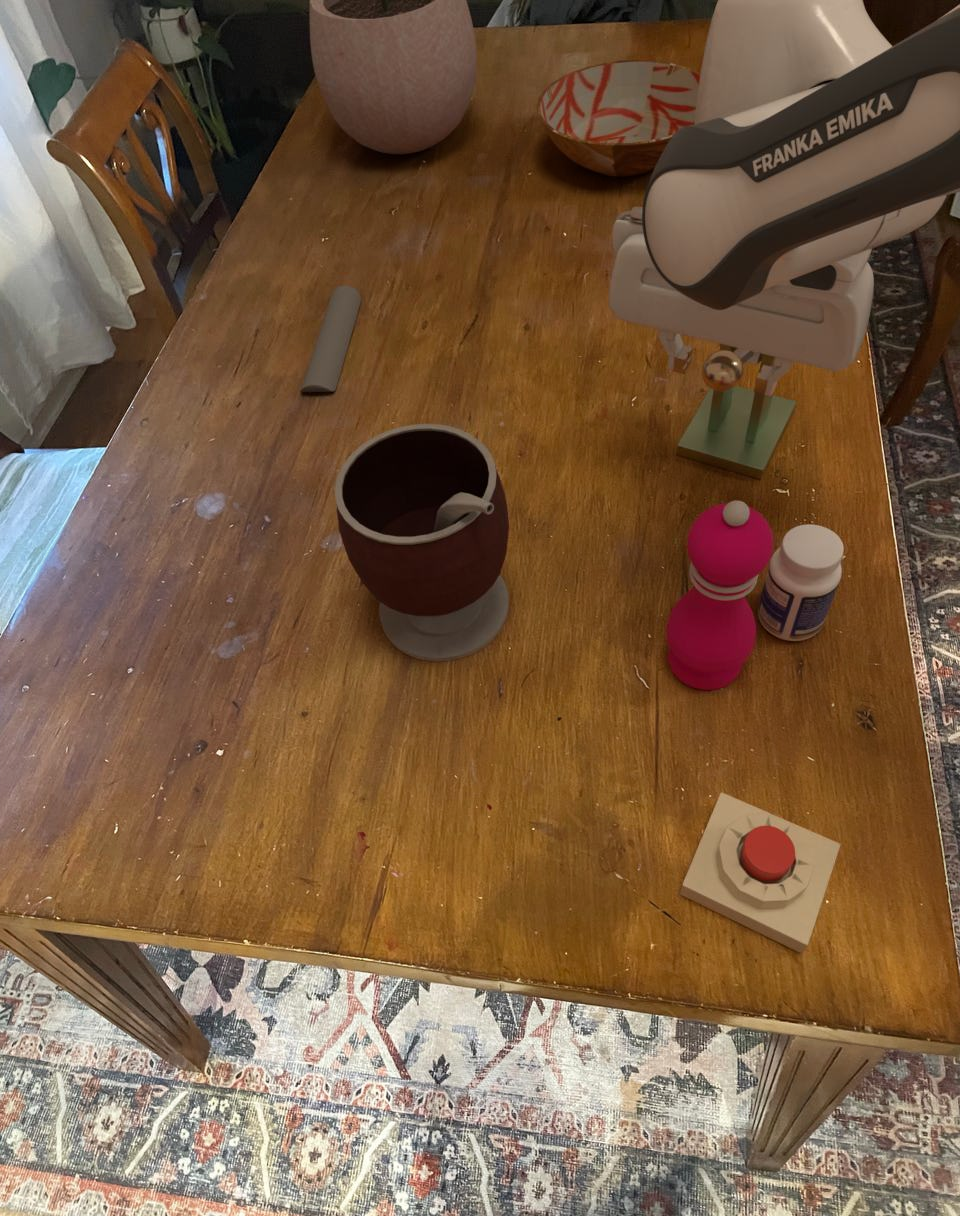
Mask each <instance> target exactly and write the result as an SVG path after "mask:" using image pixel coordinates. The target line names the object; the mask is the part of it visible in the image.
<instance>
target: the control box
mask: <svg viewBox="0 0 960 1216" xmlns="http://www.w3.org/2000/svg"><path fill="white" fill-rule="evenodd" d="M759 826H772V827H776V828H778V829H780V830H782V831H783V832H784V833H786V834H787V835H788V836H789V838H790V839H791V841H792V842H793V845H794V848H795V859H794V862H793V864H792V865H791V867H790V869H789V870H788V872H787V874H786V875H785V876H784V877H782V878H781V879H779V880H776V881H763V880H760V879H757V878H755V877H754V876H752V875H751V874H750V873H749V872H748V871H747V870H746V869H745V867H744V865H743V863H742V860H741V848H742V845H743V843H744V841H745V838H746V836H747V835H748V833H749V832H750V831H751V830H753V829H754V828H756V827H759ZM840 848H841V843H840V842H837V841H835V840H833V839H831V838H828V837H825V836H824V835H821V834H819V833H817V832H814V831H812V830H810V829H807V828H805V827H802V826H801V825H798V824H796V823H794V822H791V821H788V820H786V819H784V818H782V817H780V816H777V815H775V814H772V813H770V812H768V811H766V810H764V809H761V808H759V807H756V806H754V805H752V804H749V803H747V802H745V801H743V800H741V799H738V798H736V797H733V796H732V795H729V794H728V793H727V794H726V793H724V792H720V793H719V795H718V798H717V800H716V802H715V805H714V807H713V810H712V812H711V815H710V817H709V819H708V822H707V823H706V826H705V829H704V831H703V834H702V835H701V838H700V841H699V843H698V846H697V847H696V850H695V852H694V855H693V858H692V860H691V862H690V865H689V867H688V869H687V871H686V874H685V877H684V879H683V882H682V884H681V887H680V891H679V895H680V896H682V897H684V898H686V899H689V900H691V901H693V902H695V903H697V904H698V905H701V906H703V907H705V908H707V909H709V910H710V911H713V912H716V913H717V914H720V915H721V916H723V917H726V919H730V920H732V921H734V922H736V923H737V924H740V925H742V926H744V927H745V928H747V929H750V930H752V931H754V932H756V933H758V934H760V935H762V936H765V937H766V938H769V939H771V940H773V941H774V942H777V943H779V944H781V945H783V946H785V947H786V948H788V949H791V950H793V951H795V952H797V953H800V954H802V953H803V952H804V951H805V950H806V948H807V947H808V946H809V944H810V941H811V938H812V935H813V931H814V928H815V925H816V922H817V919H818V916H819V913H820V910H821V907H822V904H823V900H824V897H825V894H826V891H827V888H828V885H829V882H830V880H831V876H832V873H833V870H834V867H835V865H836V861H837V857H838V854H839V851H840Z"/></svg>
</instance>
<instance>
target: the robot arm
mask: <svg viewBox="0 0 960 1216" xmlns="http://www.w3.org/2000/svg"><path fill="white" fill-rule="evenodd" d="M700 73H701V74H700V81H699V88H698V96H697V105H696V115H695V124H694V125H690V126H686V127H683V128H681V129H679V130H678V131H677V132H676V133H675V134H674V135H673V136H672V138H671V139H670V141H669V142H668V144H667V146H666V147H665V149H664V151H663V153H662V154H661V156H660V158H659V160H658V162H657V164H656V166H655V168H654V169H653V171H652V173H651V176H650V178H649V180H648V184H647V186H646V190H645V194H644V196H643V202H642V206H633V207H632V208H631V209H630V210H625V211H623V212H621V213H620V214H618V215H617V217H616V218H615V219H614V222H613V225H612V242H611V243H612V249H613V252H614V253H615V260H614V263H613V268H612V272H611V277H610V283H609V292H608V303H607V304H608V308H609V310H610V311H611V313H612V315H613V316H614V317H615V319H617V320H619V321H623V322H629V323H632V324H637V325H641V326H645V327H649V328H653V329H657V330H658V331H657V338H658V340H659V342H660V343H661V344H660V345H662V348H663V350H664V351H665V354H666V355H667V356H668V362H667V370H668V371H670V372H674V373H678V374H683V375H685V374H686V373H687V370H688V369H689V367H690V366H691V362H692V357H691V356H692V355H693V346H689V345H685V344H684V342H683V339H682V337H681V335H683V336H686V337H690V338H695V339H699V340H703V341H708V342H711V343H715V344H719V345H720V344H724V345H728V346H732V347H736V348H740V349H745V350H749V351H753V352H757V353H761V354H765V355H769V356H774V357H775V361H774V366H773V367H771V366H766V365H763V367H762V368H761V371H760V373H759V372H758V374H757V376H756V379H755V383H754V384H755V386H754V388H753V390H754V392H756V393H760V394H763V395H767V396H772V394H773V395H774V393H773V392H775V390H776V387H777V385H778V383H779V380H780V379H781V378H782V377H784V375H786V374H787V373H788V372H789V371H791V369H792V368H793V365H794V363H799V364H804V365H808V366H812V367H816V368H819V369H824V370H828V371H832V372H841V371H843V370H845V369H847V368H849V367H850V366H851V365H852V364H854V362H855V361H856V358H857V357H858V354H859V352H860V350H861V347H862V345H863V342H864V339H865V336H866V332H867V329H868V324H869V320H870V316H871V310H872V304H873V297H874V288H875V280H874V279H875V278H874V273H873V269H872V267H871V265H870V264H869V262H868V261H869V259H870V256H871V253H872V251H873V249H874V248H877V247H880V246H882V245H885V244H887V243H889V242H892V241H894V240H897V239H900V238H901V237H904V236H906V235H909V234H910V233H913V232H914V231H917V230H919V229H921V228H923V227H925V226H926V225H928V224H929V223H930V222H931V221H933V220H934V218H936V216H937V215H938V214H939V213H940V212H941V210H942V209H943V207H944V205H945V204H946V202H947V200H948V199H949V197H950V195H952V194H955V193H960V3H959V4H958V5H957V6H955V7H954V8H952V9H950V10H949V11H948V12H947V13H945V14H944V15H943V16H941V17H939V18H938V19H937V20H935V21H933V22H932V23H930V24H928V25H926V26H925V27H923V28H921V29H920V30H918V31H916V32H915V33H913V34H911V35H909V36H908V37H906V38H905V39H903V40H901V41H900V42H898V43H895V44H894V45H892V44H891V43H890V42H889V41H888V40H887V39H886V37H885V36H884V35H883V34H882V33H881V31H880V30H879V29H878V27H876V25H875V24H874V22H873V21H872V19H871V17H870V16H869V14H868V12H867V10H866V7H865V4H864V0H717V3H716V5H715V9H714V11H713V13H712V17H711V19H710V25H709V29H708V33H707V36H706V41H705V46H704V51H703V56H702V63H701V68H700Z"/></svg>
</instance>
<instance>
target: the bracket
mask: <svg viewBox="0 0 960 1216" xmlns="http://www.w3.org/2000/svg"><path fill="white" fill-rule="evenodd" d="M720 350H729V351H732V352H734V351H735V350H737V348H736V347H732V346H728V345H724V344H720V343H719V351H720ZM774 361H775V357H774V356H769V355H765V354H763V355H762V360H761V361H760V365H759V369H758V374H759V373H760V371H761V368H762V367H763V365H766V366H771V367H773V366H774ZM774 392H775V391H774ZM774 392H773V394H772V396H767V395H763V394H760V393H756V392H754V389H750V388H747V387H742V386H740V385H739V386H738V385H736V386H735V387H733V388H732V389H730V390H727V391H715V390H713V389H711V388H709V390H708V391H707V393H706V394H705V396H704V397H703V399H702V401H701V403H700V405H699V406H698V408H697V410H696V411H695V413H694V415H693V417H692V419H691V421H690V422H689V424H688V426H687V427H686V429H685V431H684V432H683V434H682V436H681V438H680V440H679V441H678V443H677V444H676V451H675V455H676V456H679V457H682V458H685V459H689V460H692V461H696V462H699V463H703V464H706V465H709V466H713V467H717V468H720V469H723V470H727V471H730V472H733V473H736V474H740V475H743V476H747V477H749V478H750V477H751V478H754V479H757V480H762V478H763V476H764V475H765V472H766V470H767V468H768V466H769V464H770V462H771V460H772V458H773V456H774V454H775V452H776V449H777V447H778V446H779V444H780V442H781V440H782V438H783V436H784V433H785V431H786V429H787V428H788V426H789V423H790V421H791V420H792V417H793V415H794V413H795V410H796V406H797V404H798V403H797V402H798V401H797V400H793V399H789V398H785V397H781V396H778V395H774Z"/></svg>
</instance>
